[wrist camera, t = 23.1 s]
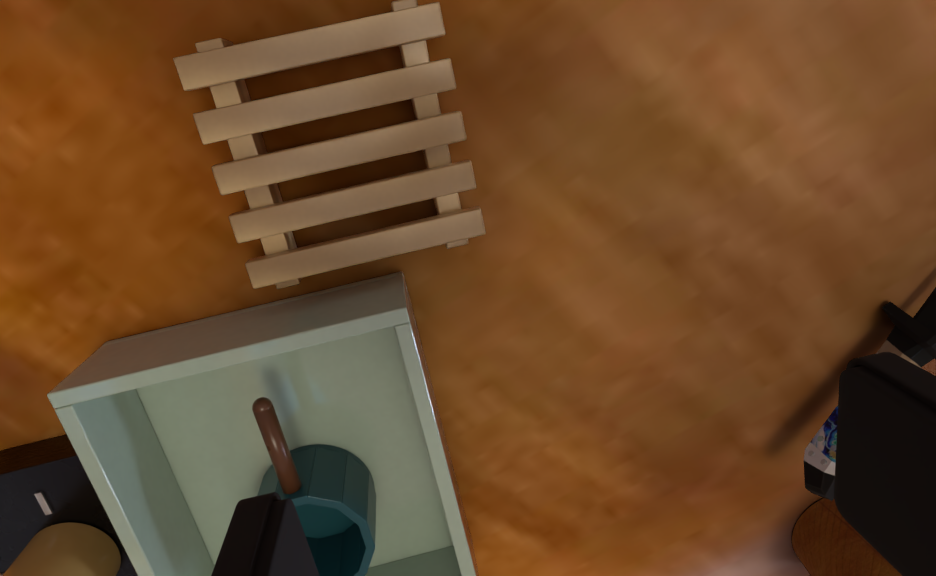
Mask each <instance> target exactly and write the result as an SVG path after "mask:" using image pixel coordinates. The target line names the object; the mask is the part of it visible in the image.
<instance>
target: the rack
mask: <svg viewBox="0 0 936 576" xmlns="http://www.w3.org/2000/svg"><path fill="white" fill-rule="evenodd" d="M445 34H446V33H445V28H444V23H443V18H442V13H441V8H440V3H439V2H435V3H430V4H426V5H421V6H418V3H417V0H398V1H393V2H391V12H388V13H383V14H378V15H374V16H369V17H364V18H360V19H355V20H350V21H345V22H341V23H336V24H331V25H326V26H322V27H317V28H312V29H308V30H303V31H298V32H293V33H289V34H284V35H279V36H275V37H270V38H265V39H260V40H256V41H251V42H246V43H241V44H237V45H233V42H231V41H228V40H225V39H222V38H217V39H212V40H208V41H203V42H198V43H195V45H196V48H197V51H198V53H194V54H189V55H185V56H180V57H175V58H173V60H174V63H175V66H176V69H177V72H178V75H179V78H180V80H181V83H182V86H183V89H184V91H192V90H196V89H201V88H206V87H210V90H211V93H212V96H213V99H214V102H215V105H216V108H217V109H212V110H208V111H203V112H198V113H194V114H193V117H194V120H195V123H196V126H197V129H198V132H199V135H200V137H201V140H202V143H203V144H209V143H214V142H218V141H223V140H227V141H228V144H229V147H230V150H231V153H232V156H233V159H234V161H230V162H225V163H221V164H216V165H214V166H212V171H213V174H214V177H215V180H216V183H217V186H218V189H219V191H220V194H221V195H226V194H230V193H235V192H239V191H244V192H245V195H246V198H247V201H248V204H249V207H250V209H249V210H245V211H240V212H236V213H233V214H231V215H230V216H229V220H230V223H231V226H232V229H233V232H234V235H235V238H236V240H237V242H238V243H243V242H247V241H251V240H256V239H260V240H261V243H262V246H263V249H264V252H265V256H261V257H256V258H252V259H249V260H247V262H246V263H245V266H246V269H247V272H248V275H249V278H250V281H251V283H252V286H253V288H254V289H257V288H261V287H265V286H269V285H273V284H275V285H276V288H277V289H281V288H285V287H289V286H294V285H298V284H300V282H301V280H302V278H303V277H307V276H312V275H316V274H320V273H324V272H328V271H333V270H337V269H341V268H345V267H350V266H354V265H358V264H362V263H366V262H371V261H375V260H379V259H383V258H388V257H392V256H396V255H400V254H405V253H409V252H413V251H417V250H421V249H426V248H430V247H434V246H438V245H443V244H445V245H446V248H447V249H449V248H453V247H458V246H462V245H466V244H468V243H469V241H468V238H472V237H476V236H481V235H485V234H486V231H485V226H484V221H483V216H482V211H481V208H480V207H479V206H475V207H471V208H466V209H461V204H460V199H459V195H458V193H459V192H463V191H467V190H472V189H475V188H476V187H477V186H476V182H475V177H474V172H473V167H472V162H471V161H470V160H464V161H459V162H455V163H452V162H451V157H450V153H449V148H448V144H451V143H456V142H460V141H464V140H466V139H467V137H466V132H465V127H464V122H463V117H462V113H461V111H454V112H449V113H445V114H441V110H440V106H439V101H438V96H437V93H440V92H445V91H449V90H454V89H456V83H455V78H454V73H453V68H452V63H451V59H450V58H447V59H442V60H437V61H433V62H430V59H429V54H428V50H427V45H426V40H429V39H433V38H438V37H443V36H444V35H445ZM396 46H399V48H400V53H401V57H402V62H403V66H404V68H401V69H396V70H391V71H387V72H382V73H378V74H373V75H368V76H364V77H359V78H355V79H350V80H345V81H341V82H336V83H332V84H327V85H322V86H318V87H313V88H309V89H304V90H299V91H295V92H290V93H286V94H281V95H276V96H272V97H267V98H263V99H258V100H253V101H251V99H250V96H249V92H248V89H247V86H246V83H245V80H244V79H248V78H252V77H257V76H261V75H266V74H271V73H275V72H280V71H285V70H289V69H294V68H299V67H303V66H308V65H313V64H317V63H322V62H327V61H331V60H336V59H340V58H345V57H350V56H354V55H359V54H364V53H368V52H373V51H378V50H382V49H387V48H392V47H396ZM408 99H411V101H412V105H413V110H414V114H415V119H416V120H413V121H409V122H404V123H400V124H395V125H391V126H386V127H382V128H377V129H373V130H368V131H364V132H360V133H355V134H351V135H346V136H342V137H337V138H333V139H328V140H324V141H319V142H315V143H310V144H306V145H301V146H297V147H292V148H288V149H283V150H279V151H274V152H270V153H267V150H266V147H265V143H264V140H263V137H262V134H261V132H264V131H268V130H273V129H277V128H282V127H286V126H291V125H295V124H300V123H304V122H309V121H313V120H318V119H322V118H327V117H331V116H336V115H341V114H345V113H350V112H354V111H359V110H363V109H368V108H372V107H377V106H381V105H386V104H390V103H395V102H399V101H404V100H408ZM420 150H423V154H424V158H425V162H426V167H427V169H424V170H420V171H415V172H411V173H407V174H402V175H398V176H393V177H389V178H385V179H380V180H376V181H372V182H367V183H363V184H358V185H354V186H350V187H345V188H341V189H337V190H332V191H328V192H323V193H319V194H315V195H310V196H306V197H302V198H297V199H293V200H288V201H284V202H283V201H282V197H281V194H280V191H279V188H278V185H277V183H279V182H283V181H288V180H292V179H297V178H301V177H305V176H310V175H314V174H319V173H323V172H328V171H332V170H336V169H341V168H345V167H350V166H354V165H358V164H363V163H367V162H372V161H376V160H381V159H385V158H389V157H394V156H398V155H403V154H407V153H411V152H416V151H420ZM433 198H434V202H435V206H436V211H437V215H436V216H432V217H428V218H424V219H419V220H415V221H411V222H406V223H402V224H398V225H394V226H389V227H385V228H381V229H376V230H372V231H368V232H364V233H359V234H355V235H351V236H346V237H342V238H338V239H334V240H329V241H325V242H321V243H316V244H312V245H308V246H304V247H299V248H297V245H296V242H295V239H294V236H293V232H292V231H295V230H299V229H303V228H308V227H312V226H316V225H321V224H325V223H329V222H334V221H338V220H342V219H346V218H351V217H355V216H359V215H364V214H368V213H372V212H377V211H381V210H385V209H390V208H394V207H398V206H403V205H407V204H411V203H416V202H420V201H424V200H429V199H433Z"/></svg>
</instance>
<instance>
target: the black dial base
mask: <svg viewBox="0 0 936 576" xmlns="http://www.w3.org/2000/svg"><path fill="white" fill-rule="evenodd" d="M68 522H73V523H82V524H86V525H90V526H93V527H95V528H97V529H99V530H101V531H103V532H104V533H106V534H107V535H108V536H109V537H110V538H111V539H112V540H113V541H114V542H115V544H116V545H117V547H118V549H119V552H120V557H121V564H120V569H119V571H118V573H117V575H116V576H138V575H137V573H136V571H135V569H134V567H133V565H132V563H131V561H130V559H129V557H128V555H127V553H126V551H125V549H124V547H123V545H122V543H121V541H120V539H119V537H118V535H117V533H116V531H115V529H114V527H113V525H112V523H111V521H110V519H109V517H108V515H107V513H106V511H105V509H104V507H103V505H102V503H101V501H100V500H99V498H98V496H97V494H96V492H95V490H94V488H93V486H92V484H91V482H90V480H89V478H88V476H87V474H86V472H85V470H84V468H83V466H82V464H81V462H80V460H79V458H78V456H77V454H76V452H75V450H74V448H73V446H72V444H71V442H70V440H69V438H68V436H67V435H64V436H60V437H55V438H51V439H47V440H43V441H39V442H35V443H31V444H27V445H23V446H19V447H15V448H11V449H7V450H3V451H0V576H2V575H3V574H4V573H5V571H6V570H7V569H8V568H9V566H10V565H11V564H12V563H13V561H14V560H15V559H16V558H17V556H18V555H19V554H20V553H21V551H22V550H23V549H24V548H25V546H26V545H27V544H28V543H29V541H30V540H31V539H32V538H33V537H34V536H35V535H36V534H37V533H38V532H39V531H41V530H43V529H44V528H46V527H49V526H51V525H55V524H59V523H68Z"/></svg>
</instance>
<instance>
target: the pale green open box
mask: <svg viewBox="0 0 936 576" xmlns="http://www.w3.org/2000/svg"><path fill="white" fill-rule="evenodd" d="M47 396H48V398H49V400H50V402H51V404H52V406H53V408H56V409H55V412H56V414H57V416H58V418H59V420H60V422H61V424H62V426H63V428H64V430H65V432H66V434H67V436H68V438H69V440H70V442H71V444H72V446H73V448H74V450H75V452H76V454H77V456H78V458H79V460H80V462H81V464H82V466H83V468H84V470H85V472H86V474H87V476H88V478H89V480H90V482H91V484H92V486H93V488H94V490H95V492H96V494H97V496H98V498H99V500H100V501H101V503H102V505H103V507H104V509H105V511H106V513H107V515H108V517H109V519H110V521H111V523H112V525H113V527H114V529H115V531H116V533H117V535H118V537H119V539H120V541H121V543H122V545H123V547H124V549H125V551H126V553H127V555H128V557H129V559H130V561H131V563H132V565H133V567H134V569H135V571H136V573H137V575H138V576H211V575H212V572H213V569H214V566H215V564H216V561H217V558H218V555H219V552H220V550H221V547H222V544H223V541H224V538H225V536H226V533H227V530H228V527H229V524H230V522H231V519H232V516H233V513H234V510H235V508H236V505H237V503H238V502H239V501H240V500H242V499H246V498H251V497H255V496H257V495H258V492H259V489H260V485H261V482H262V479H263V476H264V475H265V473H266V472H267V470H268V469H269V468H270V466H271V465H272V461H271V459H270V456H269V453H268V451H267V448H266V445H265V443H264V440H263V437H262V435H261V432H260V430H259V427H258V424H257V422H256V419H255V416H254V414H253V411H252V405H253V403H254V401H255V400H256V399H258V398H260V397H266V398H269V399H270V400H271V401H272V403H273V406H274V409H275V412H276V414H277V417H278V420H279V423H280V426H281V428H282V431H283V434H284V437H285V439H286V442H287V445H288V448H289V450H290V451H291V450H293V449H296V448H299V447H302V446H307V445H316V444H322V445H331V446H336V447H339V448H342V449H345V450H347V451H349V452H351V453H352V454H354V455H355V456H357V457H358V458H359V459H360V460H361V461H362V462H363V463H364V464H365V465H366V466H367V468H368V469H369V471H370V473H371V475H372V478H373V481H374V486H375V492H376V535H375V551H374V554H373V557H372V560H371V563H370V565H369V568H368V571H367V574H366V575H365V576H479V574H478V568H477V563H476V558H475V553H474V548H473V543H472V539H471V535H470V531H469V527H468V523H467V519H466V516H465V512H464V508H463V504H462V500H461V496H460V492H459V488H458V484H457V480H456V477H455V473H454V469H453V465H452V461H451V457H450V453H449V449H448V445H447V441H446V438H445V434H444V430H443V426H442V422H441V418H440V414H439V410H438V406H437V402H436V399H435V395H434V391H433V387H432V383H431V379H430V375H429V371H428V367H427V363H426V360H425V356H424V352H423V348H422V344H421V340H420V336H419V332H418V328H417V324H416V321H415V317H414V313H413V309H412V305H411V301H410V297H409V293H408V289H407V285H406V282H405V278H404V274H403V272H402V271H401V272H397V273H393V274H389V275H384V276H380V277H376V278H372V279H368V280H363V281H359V282H355V283H351V284H347V285H342V286H338V287H334V288H330V289H326V290H321V291H317V292H313V293H309V294H305V295H300V296H296V297H292V298H288V299H284V300H279V301H275V302H271V303H267V304H263V305H258V306H254V307H250V308H246V309H242V310H237V311H233V312H229V313H225V314H221V315H217V316H212V317H208V318H204V319H200V320H196V321H191V322H187V323H183V324H179V325H175V326H170V327H166V328H162V329H158V330H154V331H149V332H145V333H141V334H137V335H133V336H128V337H124V338H120V339H116V340H112V341H107V342H105V343H104V344H103V345H102V346H101V347H100V348H99V349H98V350H97V351H96V352H94V353H93V354H92V355H91V356H90V357H89V358H88V359H86V360H85V361H84V362H83V363H82V364H81V365H80V366H79V367H77V368H76V369H75V370H74V371H73V372H72V373H71V374H69V375H68V376H67V377H66V378H65V379H64V380H63V381H62V382H60V383H59V384H58V385H57V386H56V387H55V388H54V389H52V390H51V391H50V392H49V393H48V394H47Z"/></svg>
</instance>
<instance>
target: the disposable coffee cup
mask: <svg viewBox="0 0 936 576" xmlns="http://www.w3.org/2000/svg"><path fill="white" fill-rule="evenodd" d="M792 546H793V549H794V551H795V553H796V555H797V556H798V558H799V559H800V560H801V562H802V563H803V565H804V566H805V568H806V569H807V571H808V572H809V573H810V575H811V576H902V575H901V574H900V573H899V572H898V571H897V570H896V569H895V568H894V567H893V566H892V565H891V564H890V563H889V562H888V561H887V560H886V559H885V558H884V557H883V556H882V555H881V554H880V553H879V552H878V551H877V550H876V549H875V548H874V547H872V546H871V545H870V544H869V543H868V542H867V541H866V540H865V539H864V538H863V537H862V536H861V535H860V534H859V533H858V532H857V531H856V530H855V529H854V528H853V527H852V526H851V525H850V524H849V523H848V522H847V521H846V520H845V519H844V518H843V517H842V515H841V514H840V512H839V511H838V509H837V506H836V504H835V500H834V499H833V500H832V501H831V500H829V499H826V498H823V499H821V500H820V501H818V502H816V503H815V504H813V505H812V506H811V507H809V508H808V509H807V510H806V511H805V512H804V513H803V514H802V515H801V517H800V518H799V520H798V521H797V523H796V525H795V527H794V530H793V535H792Z"/></svg>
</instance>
